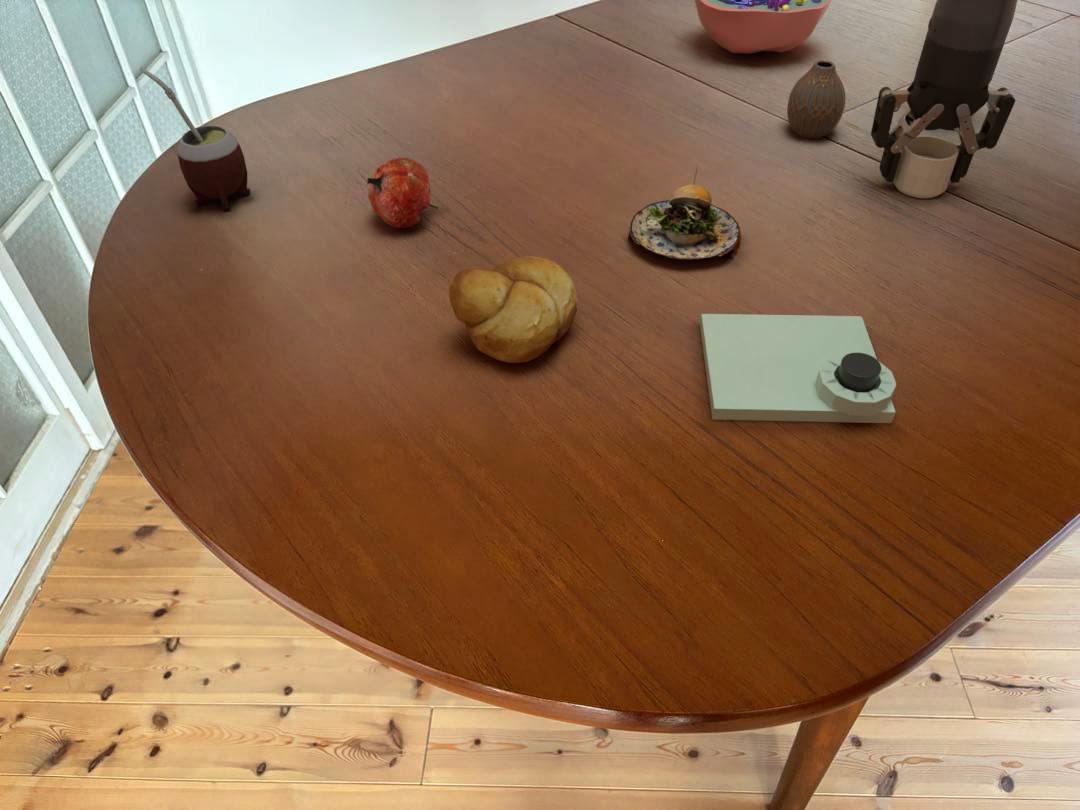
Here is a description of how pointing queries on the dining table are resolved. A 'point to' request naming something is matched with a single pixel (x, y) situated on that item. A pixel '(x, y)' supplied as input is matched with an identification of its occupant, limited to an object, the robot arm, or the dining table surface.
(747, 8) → the cell model
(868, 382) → the button
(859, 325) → the scale
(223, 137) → the mate gourd
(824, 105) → the vase
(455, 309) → the bread roll
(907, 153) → the cup
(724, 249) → the burger
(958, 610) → the dining table surface
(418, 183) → the pomegranate
